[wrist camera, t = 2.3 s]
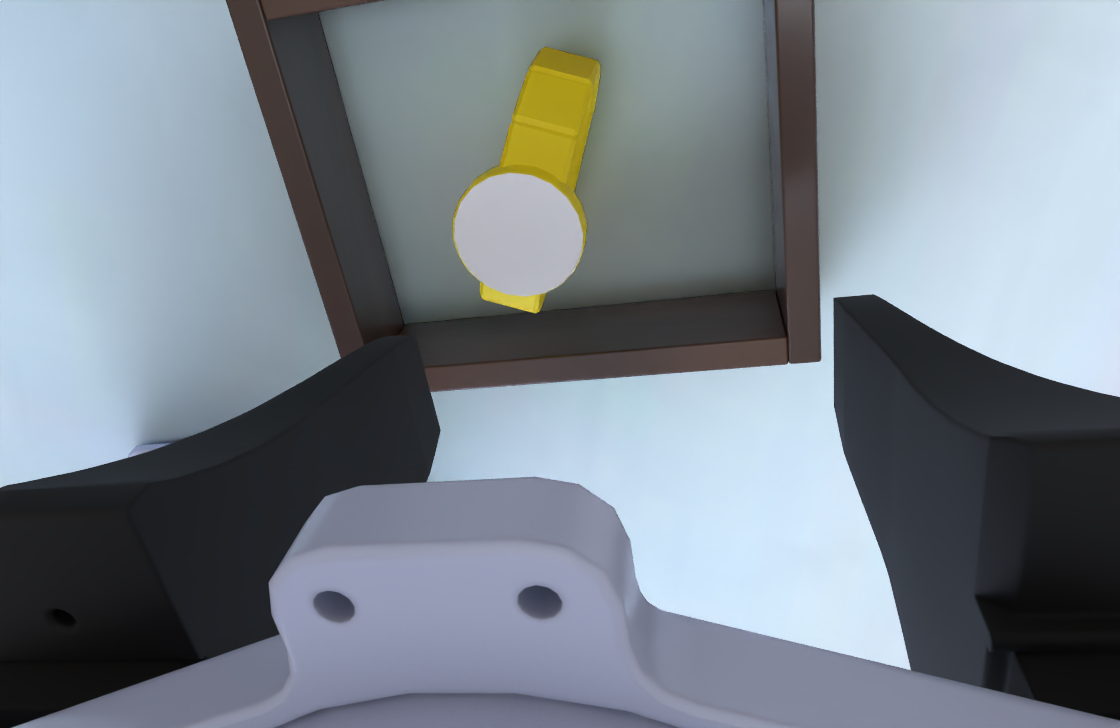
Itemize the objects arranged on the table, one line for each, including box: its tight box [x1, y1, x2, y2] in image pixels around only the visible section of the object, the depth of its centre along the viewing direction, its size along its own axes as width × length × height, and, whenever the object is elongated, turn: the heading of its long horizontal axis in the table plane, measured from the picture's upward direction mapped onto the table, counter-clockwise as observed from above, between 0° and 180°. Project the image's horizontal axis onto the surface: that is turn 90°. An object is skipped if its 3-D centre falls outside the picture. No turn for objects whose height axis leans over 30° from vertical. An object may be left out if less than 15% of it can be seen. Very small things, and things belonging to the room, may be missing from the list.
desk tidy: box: [226, 0, 821, 392], centre depth 21 cm, size 13×11×3 cm
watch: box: [453, 47, 601, 313], centre depth 19 cm, size 6×3×6 cm, turn 167°
